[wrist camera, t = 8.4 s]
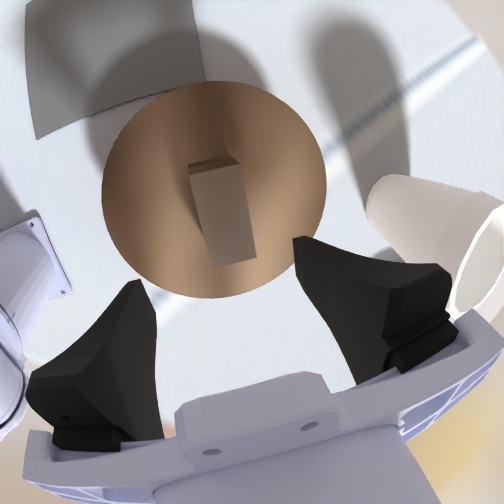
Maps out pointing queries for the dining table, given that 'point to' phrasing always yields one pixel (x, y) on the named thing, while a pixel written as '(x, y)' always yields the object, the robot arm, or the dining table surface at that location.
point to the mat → (105, 55)
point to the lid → (213, 189)
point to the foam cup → (442, 233)
